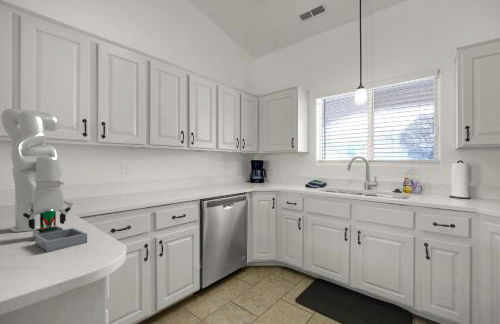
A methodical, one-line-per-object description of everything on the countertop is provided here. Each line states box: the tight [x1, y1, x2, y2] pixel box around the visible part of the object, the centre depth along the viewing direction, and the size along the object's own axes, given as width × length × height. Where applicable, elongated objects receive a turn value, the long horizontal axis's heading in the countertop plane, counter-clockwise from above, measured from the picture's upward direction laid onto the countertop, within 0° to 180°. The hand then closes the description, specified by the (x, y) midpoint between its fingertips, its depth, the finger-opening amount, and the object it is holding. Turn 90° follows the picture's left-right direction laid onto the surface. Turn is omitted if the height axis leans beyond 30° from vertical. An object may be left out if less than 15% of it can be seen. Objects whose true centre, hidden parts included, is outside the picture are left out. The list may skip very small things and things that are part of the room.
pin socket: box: [32, 225, 64, 239], centre depth 97 cm, size 8×8×3 cm
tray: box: [34, 227, 88, 253], centre depth 88 cm, size 14×12×4 cm
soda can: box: [40, 210, 57, 232], centre depth 97 cm, size 5×5×12 cm
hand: (47, 226), depth 97 cm, fingers open, 9 cm apart
